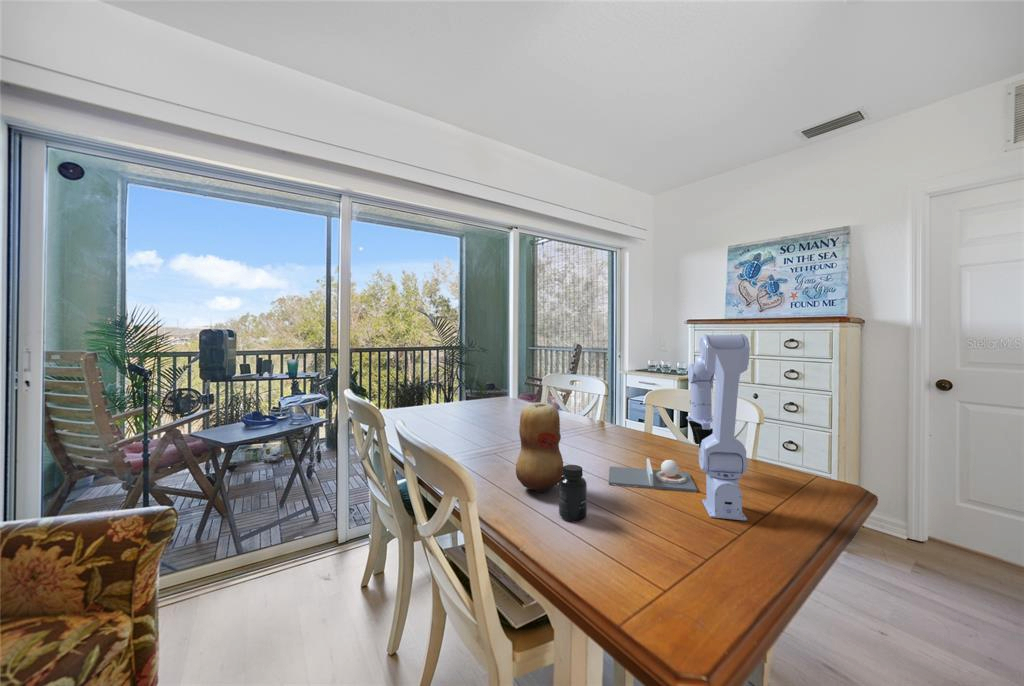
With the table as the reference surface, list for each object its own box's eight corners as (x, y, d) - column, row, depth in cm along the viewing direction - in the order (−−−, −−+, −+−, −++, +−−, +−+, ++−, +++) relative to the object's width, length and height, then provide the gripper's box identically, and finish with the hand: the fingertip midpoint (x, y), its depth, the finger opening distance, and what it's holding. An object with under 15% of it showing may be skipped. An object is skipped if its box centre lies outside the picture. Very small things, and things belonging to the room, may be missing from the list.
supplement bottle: (589, 522, 91) (588, 472, 91) (560, 522, 91) (559, 472, 91) (584, 509, 98) (583, 462, 98) (557, 509, 98) (557, 463, 98)
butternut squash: (524, 502, 103) (523, 409, 102) (510, 484, 115) (509, 401, 115) (572, 495, 106) (570, 405, 106) (553, 478, 119) (552, 398, 119)
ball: (680, 475, 113) (679, 458, 115) (662, 474, 114) (661, 457, 116) (678, 479, 117) (676, 462, 119) (660, 477, 118) (659, 461, 121)
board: (697, 492, 107) (697, 477, 107) (608, 484, 114) (608, 470, 113) (688, 474, 121) (688, 461, 120) (609, 468, 127) (609, 456, 127)
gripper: (682, 398, 125) (683, 440, 125) (691, 407, 111) (691, 453, 111) (706, 399, 123) (706, 441, 124) (718, 407, 109) (718, 455, 110)
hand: (701, 447), depth 117 cm, fingers open, 7 cm apart
